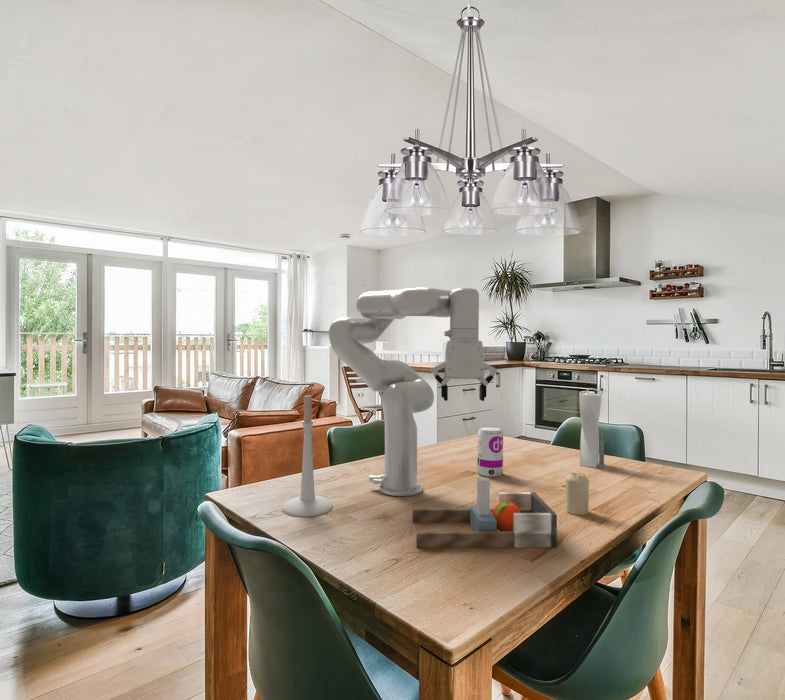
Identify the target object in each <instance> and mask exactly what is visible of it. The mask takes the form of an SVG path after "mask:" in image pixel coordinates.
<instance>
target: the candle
mask: <svg viewBox="0 0 785 700" xmlns="http://www.w3.org/2000/svg"><path fill="white" fill-rule="evenodd" d="M589 484H590V480H589V478H588V477H587V476H586V475H585V473H584V472H578V473H576V472H575V473H574V472H570V473H569V474H568V475H567V476H566V477H565V511H566V512H567V513H568V514H572V515H577V516H585V515H587V514H589V499H590V498H589V495H590V491H589V489H590V485H589Z"/></svg>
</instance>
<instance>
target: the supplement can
mask: <svg viewBox="0 0 785 700" xmlns="http://www.w3.org/2000/svg"><path fill="white" fill-rule="evenodd" d="M503 465H504V433H503V431H502V428H500V427H496V426H495V427H494V426H482V427H479V429H478V432H477V473H478V474H479V475H480V476H483V477H485V478H496V477H497V476H498V477H500V476H502V474H504V466H503Z"/></svg>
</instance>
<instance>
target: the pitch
mask: <svg viewBox="0 0 785 700" xmlns="http://www.w3.org/2000/svg"><path fill="white" fill-rule="evenodd" d="M497 499H498V500H497V505H498V504H500V503H502V502H510V503H513V504H514V505H516V506H517V507H518V508H519V510H520V511H521V513H514V517H513V531H499V530H497V531H474V530H469V531H468V530H467V531H466V530H465V531H464V530H463V531H457V530H455V531H450V530H449V531H443V530H441V531H433V530H432V531H427V530H426V531H424V530H423V531H416V534H415V535H416V536H415V537H416V538H415V540H416V541H415V545H416V548H417V549H419V548H421V549H422V548H423V549H425V548H427V549H428V548H429V549H431V548H432V549H433V548H435V549H436V548H438V549H439V548H443V549H445V548H448V549H449V548H451V549H452V548H456V549H457V548H466V549H467V548H469V549H470V548H557V537H558V536H557V535H558V534H557V531H558V529H557V528H558V525H557V524H558V515H557V513H556V512H555V511H554V510H553V509H552V508H551V507H550V506H549V505H548V504H547V503H546V502H545V501H544V500H543V499H542V498H541V497H540V496H539V495H538V494H537V493H536V492H535V491H533V492H531V491H530V492H529V491H527V492H525V491H524V492H523V491H522V492H521V491H519V492H518V491H516V492H515V491H514V492H513V491H511V492H509V491H508V492H507V491H505V492H504V491H503V492H501V491H500V492H498V493H497ZM489 509H490V511H491V512H493V509H494V508H489ZM411 519H412V523H413V524H414V523H415V524H416V523H418V524H421V523H425V524H426V523H429V524H430V523H431V524H432V523H433V524H434V523H439V524H440V523H442V524H443V523H446V524H448V523H465V524H466V523H470V508H412V517H411Z"/></svg>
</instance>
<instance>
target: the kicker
mask: <svg viewBox="0 0 785 700" xmlns="http://www.w3.org/2000/svg"><path fill="white" fill-rule="evenodd" d="M490 482H491V481H490V479H489V477H476V505H470V508H469V509H470V526H471V528H472V531H498V530H497V521H496V519H495V517H494V516H493V514H492V512H491V511H490V509H491V508H490V503H491V502H490V496H491V495H490V493H491V491H490V490H491V489H490V488H491V487H490Z"/></svg>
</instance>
